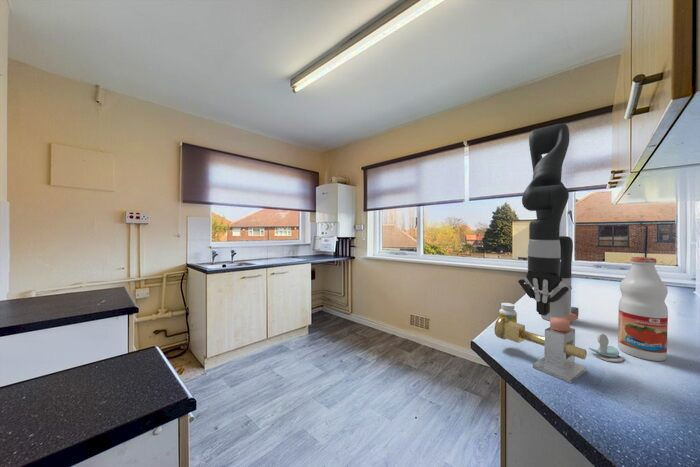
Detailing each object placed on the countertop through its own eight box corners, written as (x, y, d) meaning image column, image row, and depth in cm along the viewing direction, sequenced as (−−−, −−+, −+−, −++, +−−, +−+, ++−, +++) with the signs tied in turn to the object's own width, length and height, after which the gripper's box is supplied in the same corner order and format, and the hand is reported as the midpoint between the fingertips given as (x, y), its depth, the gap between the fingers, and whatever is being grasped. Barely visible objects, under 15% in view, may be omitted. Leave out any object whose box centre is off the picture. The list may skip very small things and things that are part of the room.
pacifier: (630, 362, 70) (605, 351, 76) (632, 340, 70) (606, 330, 76) (608, 365, 69) (584, 353, 75) (610, 342, 68) (586, 332, 74)
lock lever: (566, 318, 73) (566, 305, 73) (584, 322, 70) (585, 309, 70) (547, 327, 67) (547, 313, 67) (566, 332, 63) (566, 317, 63)
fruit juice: (653, 349, 77) (655, 256, 76) (676, 365, 68) (679, 260, 67) (611, 343, 81) (613, 255, 80) (628, 357, 72) (630, 258, 71)
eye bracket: (549, 357, 72) (550, 320, 72) (586, 370, 66) (587, 330, 65) (532, 367, 67) (533, 328, 67) (570, 383, 60) (571, 339, 60)
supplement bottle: (508, 327, 94) (509, 301, 94) (520, 333, 88) (520, 306, 88) (495, 328, 93) (495, 302, 93) (506, 334, 88) (506, 307, 87)
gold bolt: (505, 334, 81) (505, 314, 81) (589, 363, 64) (589, 338, 64) (494, 339, 78) (494, 318, 77) (579, 371, 60) (579, 344, 60)
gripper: (578, 256, 70) (577, 319, 70) (524, 252, 81) (524, 306, 82) (566, 258, 66) (565, 324, 66) (512, 254, 77) (512, 310, 78)
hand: (542, 314), depth 74 cm, fingers closed
